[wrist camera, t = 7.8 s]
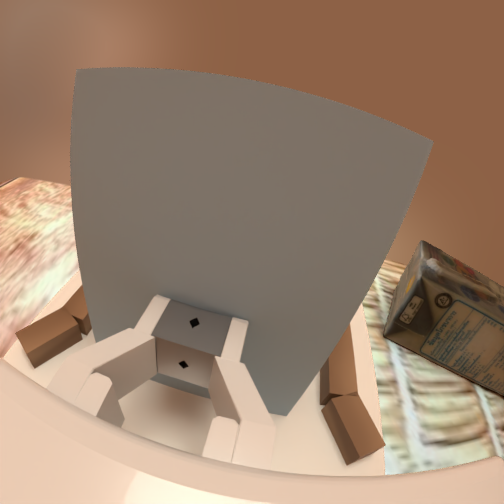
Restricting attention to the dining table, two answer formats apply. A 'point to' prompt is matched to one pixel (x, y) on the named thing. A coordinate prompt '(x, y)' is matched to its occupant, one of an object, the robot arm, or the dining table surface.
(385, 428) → the dining table surface
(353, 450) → the dock fence
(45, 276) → the dining table surface
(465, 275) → the beverage carton
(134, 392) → the board
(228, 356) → the robot arm
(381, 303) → the dining table surface
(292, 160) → the tee block
